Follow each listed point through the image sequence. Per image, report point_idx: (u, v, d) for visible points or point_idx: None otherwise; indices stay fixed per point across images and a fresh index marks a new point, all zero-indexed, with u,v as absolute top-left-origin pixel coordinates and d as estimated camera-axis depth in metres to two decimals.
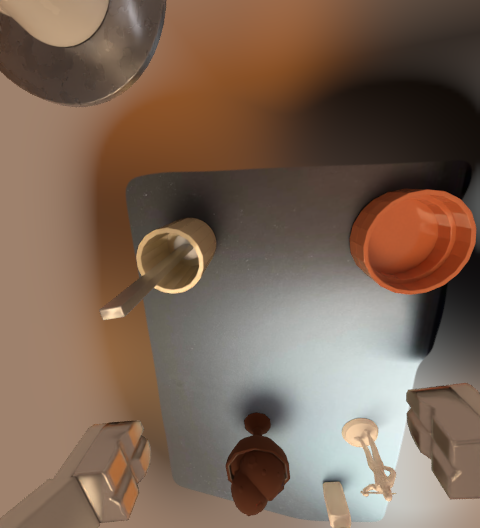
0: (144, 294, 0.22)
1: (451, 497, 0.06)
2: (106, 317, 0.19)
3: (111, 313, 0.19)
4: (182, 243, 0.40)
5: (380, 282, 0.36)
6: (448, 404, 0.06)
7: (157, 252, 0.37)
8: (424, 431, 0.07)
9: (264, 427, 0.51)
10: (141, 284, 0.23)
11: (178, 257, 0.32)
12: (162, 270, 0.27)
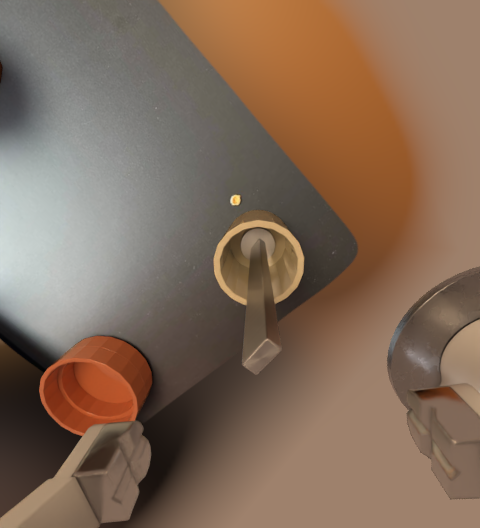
0: None
1: (451, 497, 0.06)
2: (264, 347, 0.11)
3: (261, 357, 0.11)
4: (264, 244, 0.32)
5: (76, 360, 0.34)
6: (448, 404, 0.06)
7: None
8: (424, 431, 0.07)
9: None
10: None
11: None
12: None
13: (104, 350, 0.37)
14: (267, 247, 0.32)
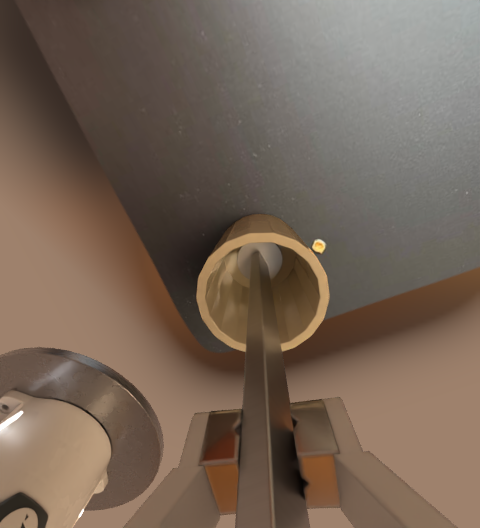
0: (261, 421, 0.07)
1: (308, 506, 0.06)
2: None
3: None
4: None
5: None
6: (315, 417, 0.07)
7: (276, 306, 0.22)
8: None
9: None
10: None
11: (252, 283, 0.17)
12: (248, 329, 0.12)
13: None
14: None
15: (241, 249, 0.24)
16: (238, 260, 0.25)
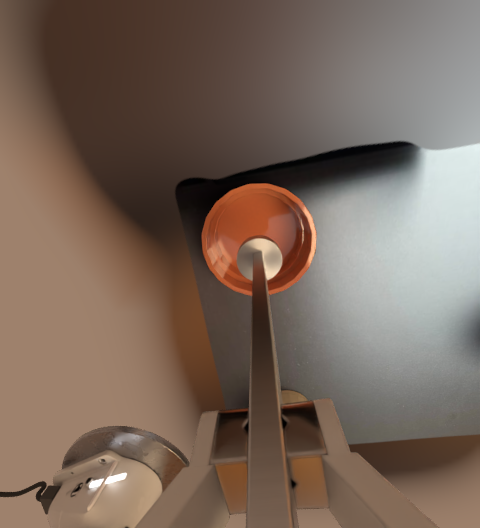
0: (273, 419, 0.07)
1: (297, 506, 0.06)
2: None
3: None
4: None
5: (304, 269, 0.33)
6: (305, 419, 0.07)
7: None
8: None
9: None
10: None
11: (255, 281, 0.17)
12: (253, 324, 0.12)
13: None
14: (249, 268, 0.25)
15: (246, 243, 0.24)
16: (239, 253, 0.24)
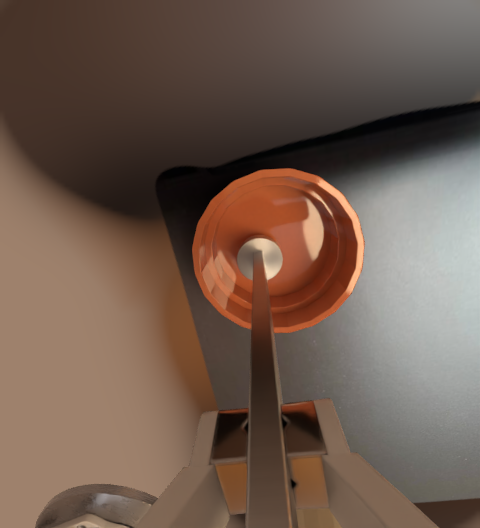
0: (272, 418, 0.07)
1: (298, 507, 0.06)
2: None
3: None
4: None
5: (345, 295, 0.22)
6: (305, 418, 0.07)
7: None
8: None
9: None
10: None
11: (256, 280, 0.17)
12: (253, 324, 0.12)
13: None
14: (249, 267, 0.25)
15: (246, 243, 0.24)
16: (239, 253, 0.24)
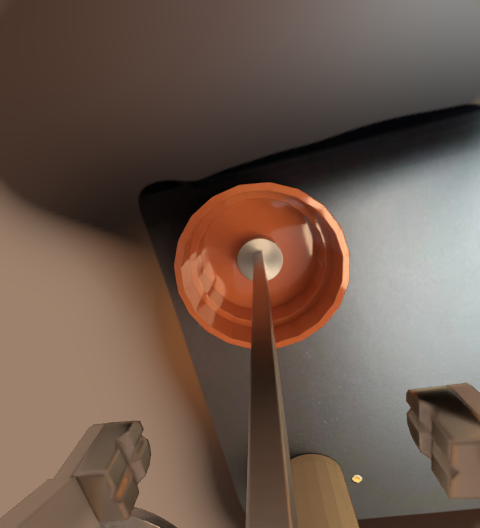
0: (273, 421, 0.07)
1: (450, 497, 0.06)
2: None
3: None
4: None
5: (333, 308, 0.21)
6: (448, 404, 0.06)
7: None
8: (424, 432, 0.07)
9: None
10: None
11: (256, 281, 0.17)
12: (253, 326, 0.12)
13: None
14: (249, 268, 0.25)
15: (246, 244, 0.24)
16: (239, 253, 0.24)
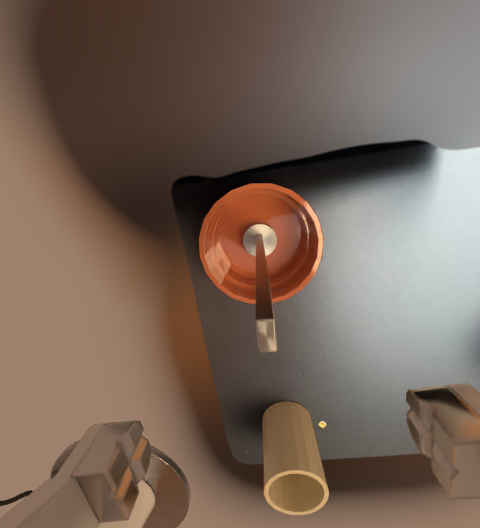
0: (266, 288, 0.15)
1: (451, 497, 0.06)
2: (272, 345, 0.12)
3: (266, 336, 0.12)
4: (255, 246, 0.33)
5: (309, 277, 0.30)
6: (448, 403, 0.06)
7: None
8: (424, 432, 0.07)
9: None
10: None
11: (258, 248, 0.25)
12: (257, 265, 0.20)
13: None
14: (251, 246, 0.33)
15: (251, 227, 0.33)
16: (245, 234, 0.33)
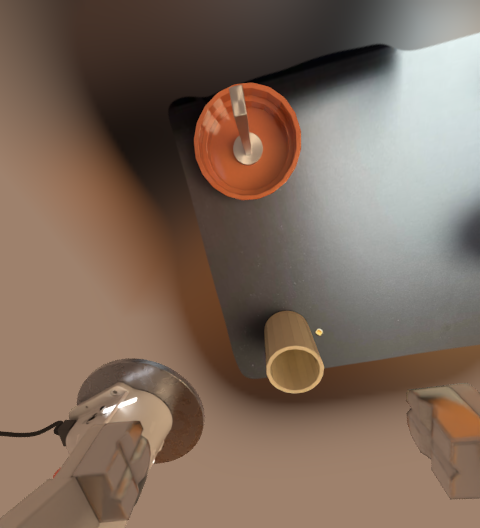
0: None
1: (451, 497, 0.06)
2: (243, 108, 0.17)
3: (237, 101, 0.17)
4: (244, 154, 0.38)
5: (291, 168, 0.35)
6: (448, 404, 0.06)
7: (294, 365, 0.44)
8: (424, 431, 0.07)
9: None
10: None
11: None
12: None
13: None
14: (241, 154, 0.38)
15: (239, 136, 0.37)
16: (234, 143, 0.38)
